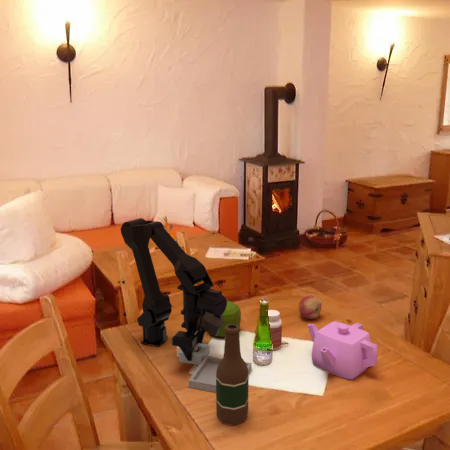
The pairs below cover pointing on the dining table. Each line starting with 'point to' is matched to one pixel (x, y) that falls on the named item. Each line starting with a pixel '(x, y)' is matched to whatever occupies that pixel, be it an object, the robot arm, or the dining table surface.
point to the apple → (230, 317)
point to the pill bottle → (275, 328)
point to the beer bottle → (232, 381)
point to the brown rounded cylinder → (195, 348)
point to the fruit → (310, 307)
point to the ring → (195, 354)
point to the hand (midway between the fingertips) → (194, 354)
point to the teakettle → (342, 349)
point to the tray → (208, 374)
